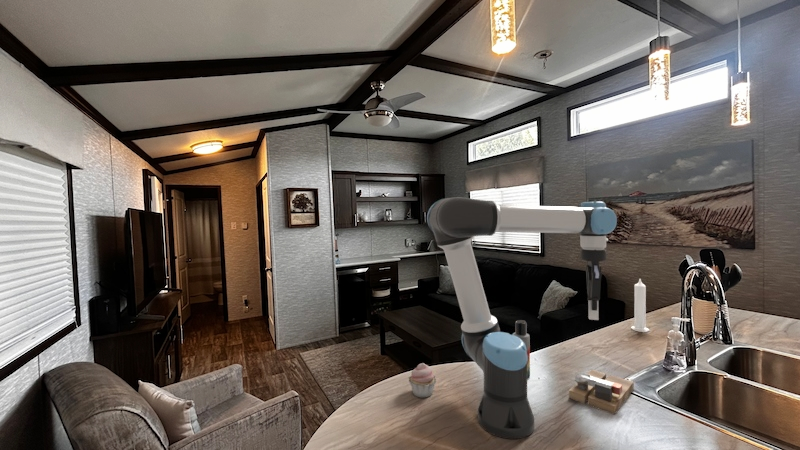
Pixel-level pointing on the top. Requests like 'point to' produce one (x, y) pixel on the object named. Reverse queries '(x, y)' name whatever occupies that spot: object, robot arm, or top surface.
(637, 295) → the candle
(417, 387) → the cupcake
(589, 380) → the latch arm
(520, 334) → the lotion bottle
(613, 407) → the door boards
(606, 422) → the top surface
